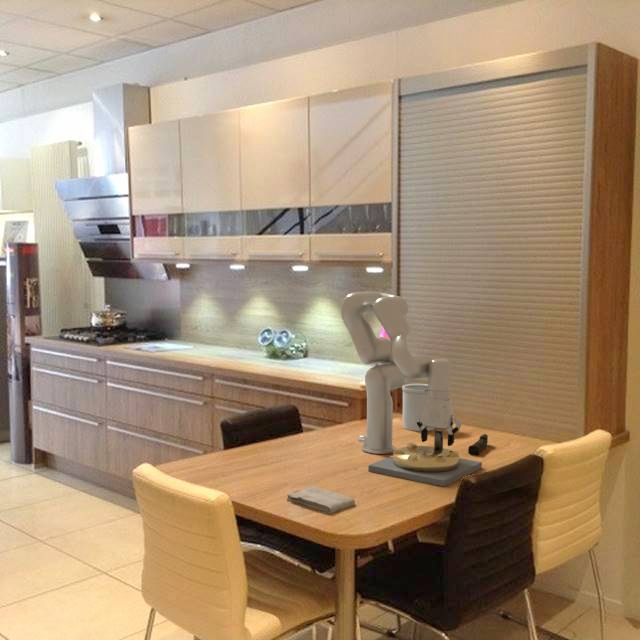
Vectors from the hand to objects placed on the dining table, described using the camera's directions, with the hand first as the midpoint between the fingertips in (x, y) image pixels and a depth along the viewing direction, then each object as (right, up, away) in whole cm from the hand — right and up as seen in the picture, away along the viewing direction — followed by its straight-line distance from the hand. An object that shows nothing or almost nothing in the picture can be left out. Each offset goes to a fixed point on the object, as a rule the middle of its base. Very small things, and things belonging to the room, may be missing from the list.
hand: (437, 443), depth 268 cm
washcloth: (-41, -11, -43) cm, 60 cm away
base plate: (-5, -8, -7) cm, 11 cm away
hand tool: (+19, -6, +21) cm, 29 cm away
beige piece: (-5, -6, -7) cm, 10 cm away
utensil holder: (+1, -3, +57) cm, 57 cm away
